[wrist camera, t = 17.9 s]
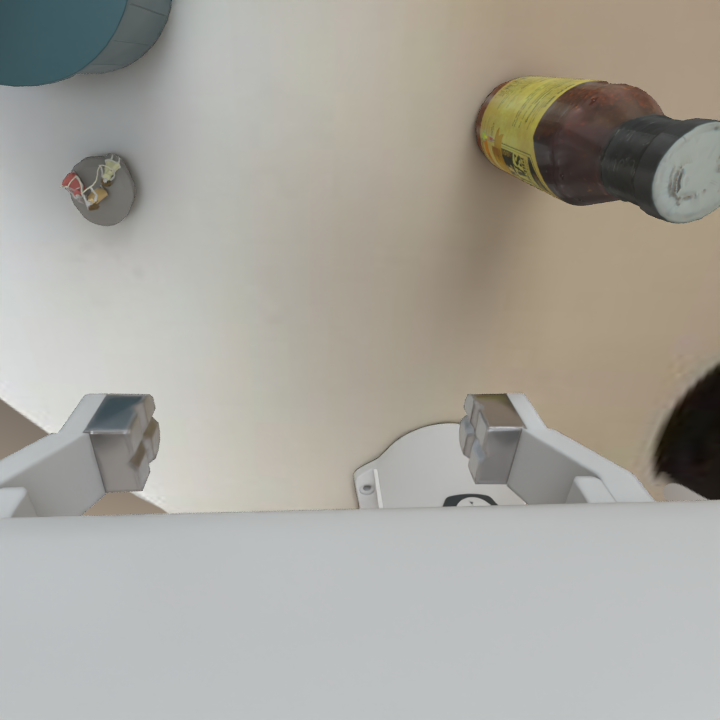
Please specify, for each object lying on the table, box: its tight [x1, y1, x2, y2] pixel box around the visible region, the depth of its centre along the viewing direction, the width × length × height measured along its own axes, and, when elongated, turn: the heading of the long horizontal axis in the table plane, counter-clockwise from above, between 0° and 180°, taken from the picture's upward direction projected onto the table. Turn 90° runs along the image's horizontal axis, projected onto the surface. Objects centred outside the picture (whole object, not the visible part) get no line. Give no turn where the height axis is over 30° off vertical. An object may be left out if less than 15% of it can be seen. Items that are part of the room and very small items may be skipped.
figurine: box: [60, 154, 135, 226], centre depth 34 cm, size 5×4×6 cm
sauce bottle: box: [476, 76, 720, 223], centre depth 28 cm, size 6×6×20 cm
